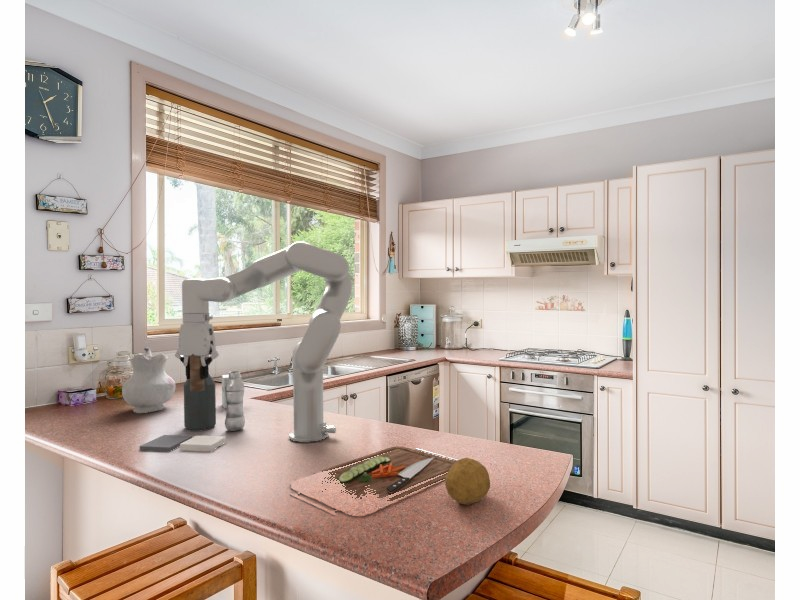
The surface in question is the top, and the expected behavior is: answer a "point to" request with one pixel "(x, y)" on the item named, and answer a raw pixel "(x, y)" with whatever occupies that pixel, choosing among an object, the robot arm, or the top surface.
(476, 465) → the potato
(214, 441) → the tile
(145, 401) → the ceramic pitcher
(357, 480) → the chopping board
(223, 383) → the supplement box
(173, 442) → the mat
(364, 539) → the top surface
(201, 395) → the bottle
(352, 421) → the top surface
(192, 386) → the dowel
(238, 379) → the plastic bottle
